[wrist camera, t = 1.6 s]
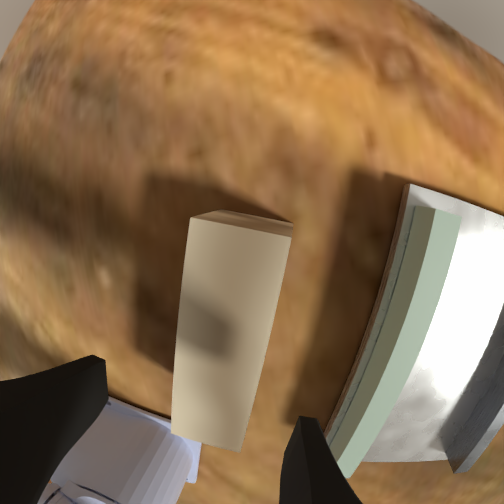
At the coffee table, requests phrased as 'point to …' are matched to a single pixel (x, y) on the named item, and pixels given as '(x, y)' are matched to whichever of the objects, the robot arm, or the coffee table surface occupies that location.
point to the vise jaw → (399, 333)
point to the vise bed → (443, 347)
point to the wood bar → (225, 322)
